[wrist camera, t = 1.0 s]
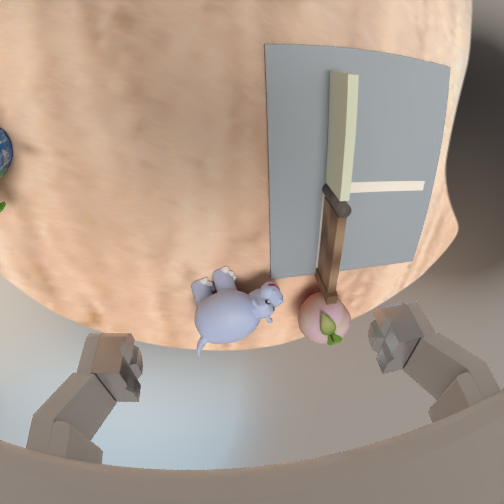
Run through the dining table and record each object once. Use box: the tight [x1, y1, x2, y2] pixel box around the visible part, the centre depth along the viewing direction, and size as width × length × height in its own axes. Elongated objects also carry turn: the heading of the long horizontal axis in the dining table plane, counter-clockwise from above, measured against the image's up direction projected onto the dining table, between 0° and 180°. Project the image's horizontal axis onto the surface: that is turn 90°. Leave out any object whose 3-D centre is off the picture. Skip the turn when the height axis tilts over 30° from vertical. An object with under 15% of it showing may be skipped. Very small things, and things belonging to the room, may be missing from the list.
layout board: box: [264, 44, 450, 279], centre depth 40 cm, size 34×26×1 cm
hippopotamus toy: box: [191, 266, 283, 356], centre depth 47 cm, size 11×15×10 cm
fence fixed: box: [315, 183, 352, 305], centre depth 42 cm, size 16×2×7 cm, turn 3°
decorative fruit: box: [298, 292, 351, 345], centre depth 50 cm, size 9×8×10 cm
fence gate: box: [326, 70, 359, 201], centre depth 33 cm, size 15×1×6 cm, turn 3°
